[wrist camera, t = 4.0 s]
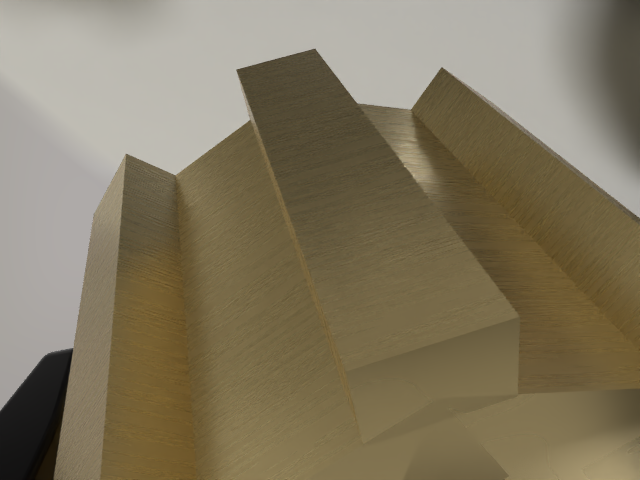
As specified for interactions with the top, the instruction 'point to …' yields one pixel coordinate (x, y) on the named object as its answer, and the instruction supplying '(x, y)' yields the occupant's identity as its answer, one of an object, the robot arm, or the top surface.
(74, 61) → the top surface
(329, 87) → the planet gear
